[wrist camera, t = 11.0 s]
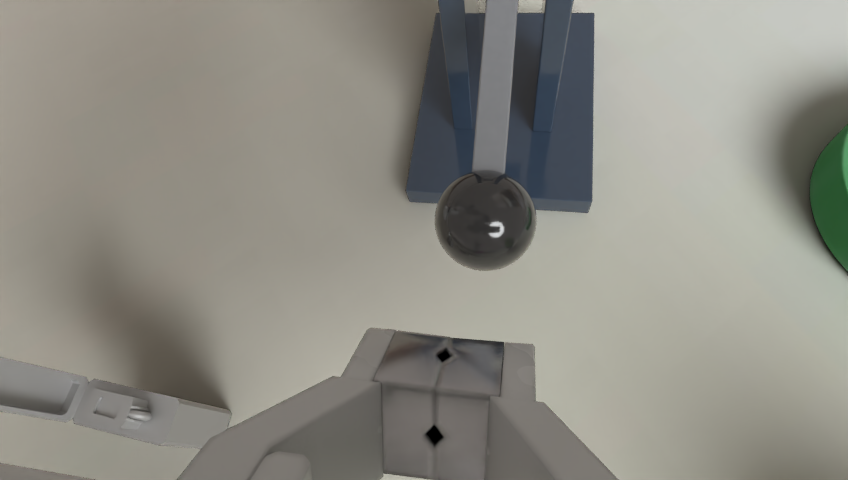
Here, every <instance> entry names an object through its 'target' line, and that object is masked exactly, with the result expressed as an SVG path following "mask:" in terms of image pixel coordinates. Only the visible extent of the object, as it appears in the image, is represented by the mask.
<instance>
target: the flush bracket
mask: <svg viewBox="0 0 848 480" xmlns="http://www.w3.org/2000/svg"><path fill="white" fill-rule="evenodd" d="M573 1H574V0H543V3H542V13H518V20H517V32H516V45H515V58H514V71H513V84H512V97H511V110H510V123H509V135H508V148H507V161H506V174H507V175H509V176H511V177H513V178H514V179H516V180H517V181H518V182H520V183H521V184H522V185H523V186H524V188H525V189H526V190H527V191H528V193H529V195H530V196H531V198H532V201H533V203H534V206H535V210H550V211H565V212H581V213H588V212H589V209H590V206H591V203H592V179H593V89H594V13H572V7H573ZM438 4H439V12H440V13H436V16H435V22H434V28H433V33H432V39H431V45H430V51H429V57H428V63H427V69H426V74H425V80H424V86H423V92H422V98H421V104H420V110H419V115H418V121H417V127H416V133H415V139H414V145H413V151H412V156H411V162H410V168H409V174H408V180H407V186H406V193H407V196H408V199H409V201H410V202H422V203H438V202H439V199H440V197H441V195H442V194H443V192H444V191H445V189H446V188H447V187H448V186H449V185H450V184H451V183H452V182H453V181H454V180H456V179H457V178H459V177H460V176H462V175H464V174H467V173H469V172H472V162H473V150H474V138H475V126H476V115H477V103H478V91H479V79H480V67H481V55H482V43H483V32H484V20H485V13H479V8H478V0H438Z"/></svg>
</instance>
